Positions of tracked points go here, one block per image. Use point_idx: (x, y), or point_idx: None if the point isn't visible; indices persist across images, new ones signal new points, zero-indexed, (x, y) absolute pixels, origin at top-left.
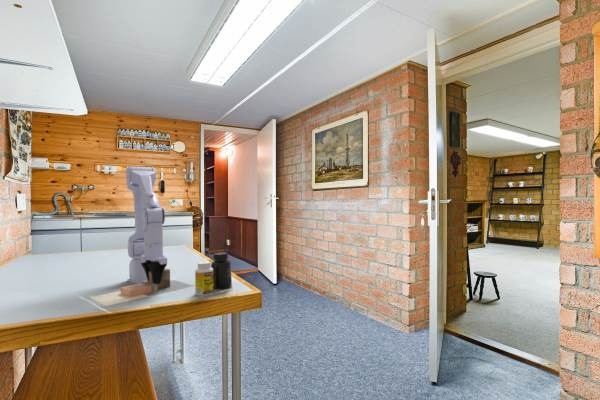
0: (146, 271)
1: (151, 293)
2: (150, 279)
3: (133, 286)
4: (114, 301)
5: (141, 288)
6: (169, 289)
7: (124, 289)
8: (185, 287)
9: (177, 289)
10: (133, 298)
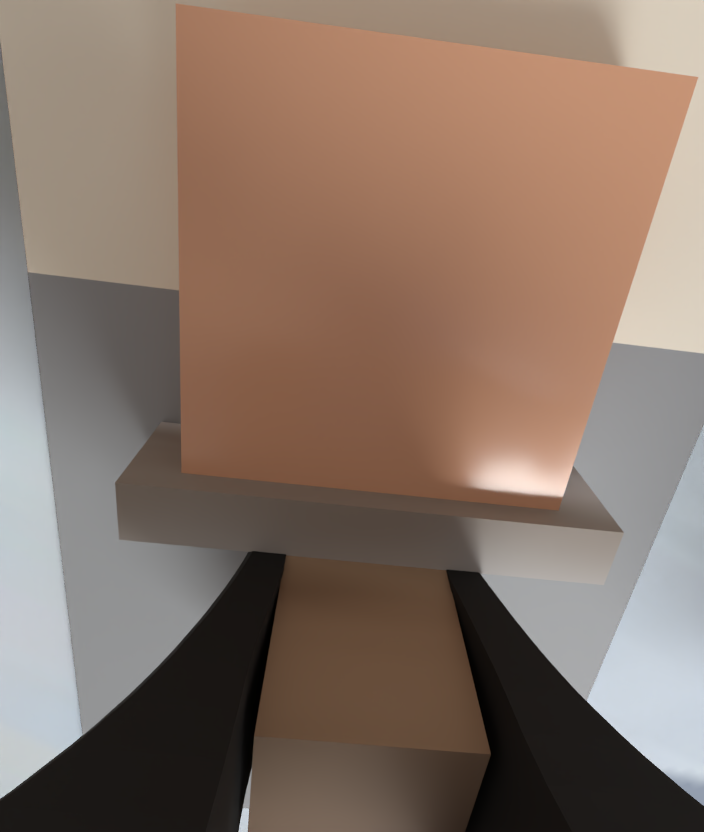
0: (520, 726)
1: (157, 388)
2: (381, 600)
3: (490, 289)
4: None
5: (182, 284)
6: (162, 609)
7: (471, 45)
8: (90, 728)
9: (76, 649)
10: (88, 41)
